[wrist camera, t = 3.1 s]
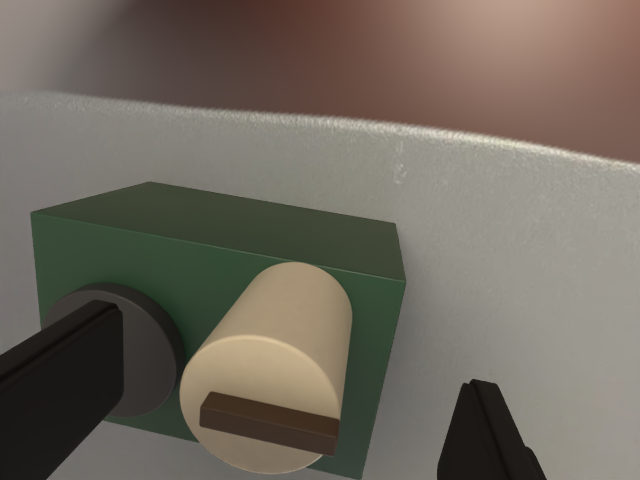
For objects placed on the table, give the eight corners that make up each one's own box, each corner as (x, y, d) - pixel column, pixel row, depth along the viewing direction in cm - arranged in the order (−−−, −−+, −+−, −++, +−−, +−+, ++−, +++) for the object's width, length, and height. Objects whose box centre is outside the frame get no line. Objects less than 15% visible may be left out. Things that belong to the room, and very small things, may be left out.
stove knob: (240, 349, 15) (163, 475, 9) (248, 251, 14) (167, 333, 8) (343, 370, 14) (323, 514, 9) (361, 272, 13) (351, 372, 8)
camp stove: (148, 320, 25) (32, 421, 16) (149, 181, 22) (10, 216, 14) (366, 365, 23) (360, 499, 15) (395, 223, 21) (408, 290, 12)
